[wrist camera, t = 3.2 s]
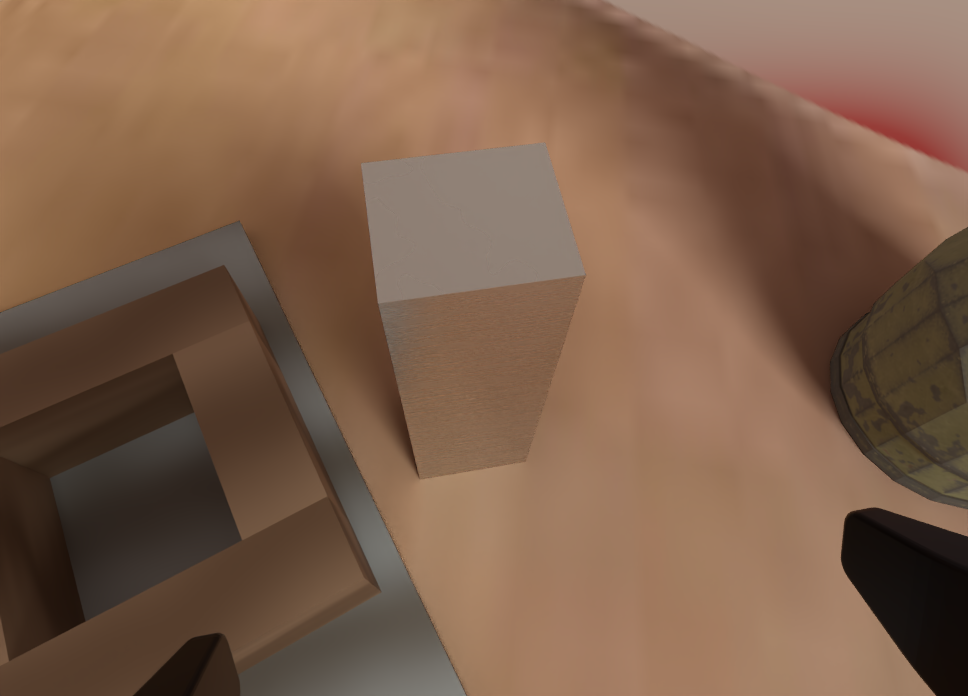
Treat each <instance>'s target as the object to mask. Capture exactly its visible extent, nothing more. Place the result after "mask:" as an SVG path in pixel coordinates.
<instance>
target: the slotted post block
mask: <svg viewBox="0 0 968 696" xmlns="http://www.w3.org/2000/svg"><path fill="white" fill-rule="evenodd" d="M212 633H222V634H224V635H225V637H226V638H227V640H228V643H229V646H230V650H231V653H232V656H233V659H234V663H235V666H236V669H237V673H238V676H239V680H240V690H241V691H240V696H467V695H466V693H465V691H464V689H463V687H462V685H461V683H460V680H459V678H458V676H457V674H456V672H455V670H454V668H453V666H452V664H451V662H450V660H449V657H448V655H447V653H446V651H445V649H444V647H443V645H442V643H441V641H440V639H439V636H438V634H437V632H436V630H435V628H434V626H433V624H432V622H431V620H430V618H429V616H428V613H427V611H426V609H425V607H424V605H423V603H422V601H421V599H420V597H419V595H418V593H417V590H416V588H415V586H414V584H413V582H412V580H411V578H410V576H409V574H408V572H407V570H406V567H405V565H404V563H403V561H402V559H401V557H400V555H399V553H398V551H397V549H396V547H395V544H394V542H393V540H392V538H391V536H390V534H389V532H388V530H387V528H386V526H385V523H384V521H383V519H382V517H381V515H380V513H379V511H378V509H377V507H376V505H375V503H374V500H373V498H372V496H371V494H370V492H369V490H368V488H367V486H366V484H365V482H364V480H363V477H362V475H361V473H360V471H359V469H358V467H357V465H356V463H355V461H354V459H353V457H352V454H351V452H350V450H349V448H348V446H347V444H346V442H345V440H344V438H343V436H342V434H341V431H340V429H339V427H338V425H337V423H336V421H335V419H334V417H333V415H332V413H331V410H330V408H329V406H328V404H327V402H326V400H325V398H324V396H323V394H322V392H321V390H320V387H319V385H318V383H317V381H316V379H315V377H314V375H313V373H312V371H311V369H310V367H309V364H308V362H307V360H306V358H305V356H304V354H303V352H302V350H301V348H300V346H299V344H298V341H297V339H296V337H295V335H294V333H293V331H292V329H291V327H290V325H289V323H288V321H287V318H286V316H285V314H284V312H283V310H282V308H281V306H280V304H279V302H278V300H277V297H276V295H275V293H274V291H273V289H272V287H271V285H270V283H269V281H268V279H267V277H266V274H265V272H264V270H263V268H262V266H261V264H260V262H259V260H258V258H257V256H256V254H255V251H254V249H253V247H252V245H251V243H250V241H249V239H248V237H247V235H246V233H245V231H244V229H243V227H242V225H241V223H240V221H237V222H235V223H232V224H230V225H227V226H224V227H222V228H219V229H217V230H214V231H211V232H209V233H206V234H204V235H201V236H198V237H196V238H193V239H190V240H188V241H185V242H183V243H180V244H177V245H175V246H172V247H170V248H167V249H164V250H162V251H159V252H157V253H154V254H151V255H149V256H146V257H144V258H141V259H138V260H136V261H133V262H131V263H128V264H125V265H123V266H120V267H118V268H115V269H112V270H110V271H107V272H104V273H102V274H99V275H97V276H94V277H91V278H89V279H86V280H84V281H81V282H78V283H76V284H73V285H71V286H68V287H65V288H63V289H60V290H58V291H55V292H52V293H50V294H47V295H45V296H42V297H39V298H37V299H34V300H32V301H29V302H26V303H24V304H21V305H18V306H16V307H13V308H11V309H8V310H5V311H3V312H0V696H133V695H134V694H135V693H136V692H137V691H138V690H139V689H140V688H141V687H142V686H143V685H144V684H145V683H146V682H147V681H148V680H149V679H150V678H151V677H152V676H153V675H154V674H155V673H156V672H157V671H158V670H159V669H160V668H161V667H162V666H163V665H164V664H165V663H166V662H167V661H168V660H169V659H170V658H171V657H172V656H173V655H174V654H175V653H176V652H177V651H178V650H179V649H180V648H181V647H182V646H183V645H184V644H185V643H186V642H187V641H188V640H189V639H191V638H193V637H197V636H202V635H207V634H212Z"/></svg>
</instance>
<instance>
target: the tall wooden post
mask: <svg viewBox="0 0 968 696" xmlns="http://www.w3.org/2000/svg"><path fill="white" fill-rule="evenodd" d="M361 167H362V175H363V184H364V192H365V200H366V209H367V217H368V225H369V233H370V242H371V250H372V258H373V266H374V275H375V283H376V291H377V299H378V306H379V310H380V314H381V318H382V322H383V327H384V331H385V335H386V339H387V343H388V348H389V352H390V356H391V360H392V364H393V369H394V373H395V377H396V381H397V385H398V389H399V394H400V398H401V402H402V406H403V410H404V415H405V419H406V423H407V427H408V431H409V436H410V440H411V444H412V448H413V452H414V457H415V461H416V465H417V469H418V473H419V477H420V479H425V478H430V477H436V476H442V475H448V474H454V473H460V472H466V471H471V470H477V469H483V468H489V467H495V466H501V465H507V464H513V463H518V462H524V461H526V459H527V455H528V452H529V449H530V446H531V443H532V440H533V437H534V434H535V431H536V428H537V425H538V421H539V418H540V415H541V412H542V409H543V406H544V403H545V400H546V397H547V394H548V390H549V387H550V384H551V381H552V378H553V375H554V372H555V369H556V366H557V363H558V359H559V356H560V353H561V350H562V347H563V344H564V341H565V338H566V335H567V332H568V329H569V325H570V322H571V319H572V316H573V313H574V310H575V307H576V304H577V301H578V298H579V294H580V291H581V288H582V285H583V282H584V279H585V276H586V274H585V271H584V268H583V264H582V261H581V258H580V254H579V251H578V248H577V245H576V241H575V238H574V235H573V232H572V228H571V225H570V222H569V219H568V215H567V212H566V209H565V206H564V202H563V199H562V196H561V193H560V189H559V186H558V183H557V180H556V176H555V173H554V170H553V167H552V163H551V160H550V157H549V154H548V150H547V147H546V144H545V143H537V144H528V145H519V146H511V147H502V148H493V149H484V150H475V151H466V152H457V153H448V154H439V155H430V156H421V157H412V158H403V159H394V160H386V161H377V162H368V163H361Z"/></svg>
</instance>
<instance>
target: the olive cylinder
mask: <svg viewBox="0 0 968 696" xmlns="http://www.w3.org/2000/svg"><path fill="white" fill-rule="evenodd" d="M830 373H831V393H832V396H833V399H834V402H835V405H836V407H837V410H838V413H839V416H840V419H841V421H842V424H843V425H844V427H845V428H846V429H847V431H848V432H849V434H850V435H851V437H852V438H853V439H854V441H855V442H856V444H857V445H858V447H859V448H860V449H861V451H862V452H863V454H864V455H865V456H867V457H868V458H869V459H870V460H871V461H872V462H873V463H874V464H876V465H877V466H878V467H879V468H880V469H881V470H882V471H884V472H885V473H886V474H887V475H888V476H889V477H890V478H891V479H893V480H894V481H895V482H897V483H899V484H901V485H903V486H905V487H907V488H908V489H910V490H912V491H914V492H916V493H918V494H920V495H922V496H923V497H925V498H927V499H929V500H932V501H936V502H940V503H944V504H948V505H952V506H957V507H961V508H965V509H968V227H967V228H965V229H964V230H962V231H960V232H958V233H957V234H955V235H953V236H951V237H949V238H948V239H946V240H945V241H944V242H942V243H941V244H940V245H939V246H938V247H937V248H936V249H934V250H933V251H932V252H931V253H930V254H929V255H927V256H926V257H925V258H924V259H923V260H922V261H920V262H919V263H918V264H917V265H916V266H915V267H914V268H912V269H911V270H910V271H909V272H908V273H907V274H905V275H904V276H903V277H902V278H901V279H900V280H899V281H897V282H896V283H895V284H894V285H893V286H892V287H891V288H890V289H889V290H888V291H887V292H886V293H885V294H883V295H882V296H881V297H880V298H879V299H878V300H877V301H876V302H875V303H874V304H873V307H872V310H871V312H869V313H867V314H865V315H864V316H863V317H862V318H861V319H859V320H858V321H857V322H856V323H855V324H854V325H853V326H852V327H851V328H850V329H849V330H848V331H847V332H846V333H845V334H844V335H843V336H842V337H841V338H840V339H839V342H838V344H837V347H836V349H835V352H834V354H833V357H832V359H831V362H830Z"/></svg>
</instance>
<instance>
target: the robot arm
mask: <svg viewBox="0 0 968 696" xmlns="http://www.w3.org/2000/svg"><path fill="white" fill-rule="evenodd" d="M841 562H842V566H843V569H844V571H845V573H846V575H847V577H848V578H849V579H850V581H851V582H852V584H853V585H854V586H855V588H856V589H857V591H858V592H859V593H860V595H861V596H862V598H863V599H864V600H865V602H866V603H867V605H868V606H869V607H870V609H871V610H872V612H873V613H874V614H875V616H876V617H877V619H878V620H879V621H880V623H881V624H882V626H883V627H884V628H885V630H886V631H887V633H888V634H889V635H890V637H891V638H892V640H893V641H894V642H895V644H896V645H897V647H898V648H899V649H900V651H901V652H902V654H903V655H904V656H905V658H906V659H907V660H908V662H909V663H910V664H911V666H912V667H913V668H914V670H915V671H916V672H917V673H918V674H919V676H920V677H921V678H922V679H923V681H924V682H925V683H926V684H927V685H928V687H929V688H930V689H931V690H932V691H933V693H934V694H935V695H936V696H968V537H967V536H964V535H961V534H958V533H955V532H951V531H948V530H945V529H942V528H939V527H936V526H933V525H930V524H927V523H924V522H920V521H917V520H914V519H911V518H908V517H905V516H902V515H899V514H896V513H893V512H890V511H886V510H883V509H880V508H867V509H861V510H856V511H852V512H850V513H848V514H847V516H846V518H845V521H844V530H843V540H842V550H841ZM240 691H241V690H240V680H239V676H238V673H237V669H236V666H235V663H234V659H233V656H232V653H231V650H230V646H229V643H228V640H227V638H226V637H225V635H224V634H222V633H212V634H207V635H202V636H197V637H193V638H191V639H189V640H188V641H187V642H186V643H185V644H184V645H183V646H182V647H181V648H180V649H179V650H178V651H177V652H176V653H175V654H174V655H173V656H172V657H171V658H170V659H169V660H168V661H167V662H166V663H165V664H164V665H163V666H162V667H161V668H160V669H159V670H158V671H157V672H156V673H155V674H154V675H153V676H152V677H151V678H150V679H149V680H148V681H147V682H146V683H145V684H144V685H143V686H142V687H141V688H140V689H139V690H138V691H137V692H136V693H135V694H134V695H133V696H240Z"/></svg>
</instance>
